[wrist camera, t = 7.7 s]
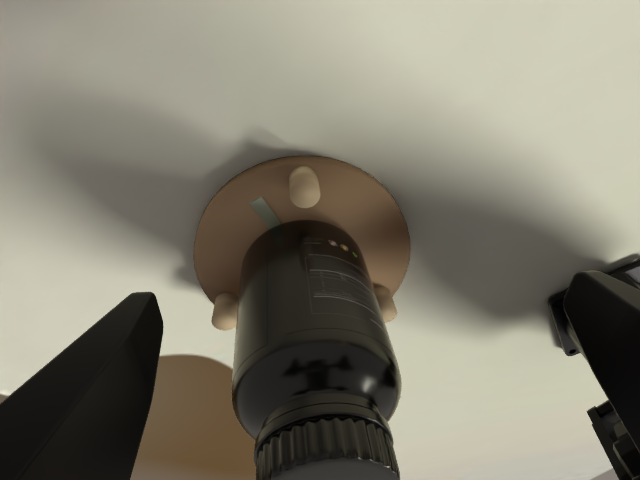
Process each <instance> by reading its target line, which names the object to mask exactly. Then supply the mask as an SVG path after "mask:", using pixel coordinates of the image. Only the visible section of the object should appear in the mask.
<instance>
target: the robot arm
mask: <svg viewBox="0 0 640 480" xmlns="http://www.w3.org/2000/svg"><path fill="white" fill-rule="evenodd" d="M548 305H549V308H550V312H551V315H552V318H553V321H554V324H555V327H556V330H557V334H558V337H559V340H560V343H561V346H562V349H563V351H564V352H565V354H566V355H567V356H573V355H576V354H578V353H581V354H582V355H583V356H584V358H585V359H586V360H587V362H588V363H589V365H590V367H591V369H592V371H593V373H594V375H595V377H596V378H597V380H598V382H599V384H600V386H601V387H602V389H603V391H604V392H605V394H606V396H607V398H608V399H609V400H607V401H606V402H604V403H603V404H601V405H599V406H598V407H595V406H594V407H593V408H591V409H589V410H588V411H587V413H588V415H589V417H590V419H591V421H592V423H593V424H592V426H593V428H594V430H595V432H596V434H597V436H598V438H599V440H600V442H601V444H602V446H603V448H604V450H605V452H606V454H607V456H608V458H609V460H610V462H611V464H612V466H613V468H614V470H615V472H616V474H617V476H618V478H619V480H640V260H639V261H637V262H635V263H632V264H630V265H627V266H625V267H622V268H620V269H618V270H615V271H613V272H610V273H608V274H605V273H603V272H600V271H596V270H592V271H580V272H577V273H576V274H575V275H574V277H573V279H572V281H571V284H570V286H569V288H568V290H567V291H565V292H562V293H560V294H557V295H555V296H553V297H551V298H550V299H549V301H548ZM162 335H163V320H162V316H161V313H160V310H159V306H158V303H157V299H156V296H155V295H154V293H152V292H136V293H132V294H130V295H129V296H128V297H126V298H125V299H124V300H123V301H122V302H120V303H119V304H118V305H117V306H116V307H114V308H113V309H112V310H111V311H110V312H108V313H107V314H106V315H105V316H104V317H103V318H101V319H100V320H99V321H98V322H97V323H95V324H94V325H93V326H92V327H91V328H89V329H88V330H87V331H86V332H85V333H83V334H82V335H81V336H80V337H79V338H78V339H76V340H75V341H74V342H73V343H72V344H70V345H69V346H68V347H67V348H66V349H64V350H63V351H62V352H61V353H60V354H59V355H57V356H56V357H55V358H54V359H53V360H51V361H50V362H49V363H48V364H47V365H45V366H44V367H43V368H42V369H41V370H39V371H38V372H37V373H36V374H35V375H34V376H32V377H31V378H30V379H29V380H28V381H26V382H25V383H24V384H23V385H22V386H20V387H19V388H18V389H17V390H16V391H14V392H13V393H12V394H11V395H10V396H9V397H7V398H6V399H5V400H4V401H3V402H1V403H0V480H130V477H131V474H132V470H133V467H134V463H135V459H136V456H137V453H138V449H139V446H140V442H141V438H142V435H143V431H144V428H145V424H146V421H147V417H148V414H149V410H150V406H151V402H152V397H153V392H154V386H155V378H156V373H157V367H158V361H159V354H160V348H161V342H162Z"/></svg>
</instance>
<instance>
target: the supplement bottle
mask: <svg viewBox="0 0 640 480" xmlns="http://www.w3.org/2000/svg"><path fill="white" fill-rule="evenodd" d="M400 394H401V375H400V371H399V367H398V364H397V360H396V357H395V354H394V351H393V348H392V344H391V341H390V338H389V335H388V332H387V329H386V326H385V322H384V319H383V316H382V313H381V310H380V307H379V304H378V300H377V297H376V294H375V291H374V288H373V285H372V282H371V278H370V275H369V272H368V269H367V266H366V263H365V260H364V257H363V254H362V252H361V250H360V248H359V246H358V245H357V243H356V242H355V241H354V239H353V238H352V237H351V236H350V235H349V234H347V233H346V232H345V231H343V230H342V229H340V228H338V227H336V226H334V225H332V224H329V223H326V222H322V221H317V220H295V221H290V222H285V223H282V224H279V225H277V226H275V227H273V228H271V229H269V230H267V231H266V232H264V233H263V234H262V235H260V236H259V237H258V238H257V239H256V240H255V241H254V242H253V243H252V244H251V246H250V247H249V249H248V250H247V252H246V254H245V256H244V259H243V262H242V266H241V274H240V284H239V297H238V310H237V323H236V336H235V350H234V363H233V376H232V405H233V410H234V412H235V415H236V418H237V420H238V421H239V423H240V425H241V426H242V428H243V429H244V430H245V431H246V433H247V434H248V435H249V436H250V437H251V438H252V439H254V440H255V445H254V462H255V466H256V480H400V472H399V468H398V464H397V460H396V456H395V452H394V448H393V438H392V434H391V430H390V427H389V424H388V421H389V420H390V419H391V417H392V416H393V414H394V412H395V410H396V408H397V405H398V402H399V399H400Z"/></svg>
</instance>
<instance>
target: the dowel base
mask: <svg viewBox="0 0 640 480" xmlns="http://www.w3.org/2000/svg"><path fill="white" fill-rule="evenodd" d="M295 220H317V221H322V222H326V223H329V224H332V225H334V226H336V227H338V228H340V229H342V230H343V231H345V232H346V233H347V234H349V235H350V236H351V237H352V238H353V239H354V241H355V242H356V243H357V245H358V246H359V248H360V250H361V252H362V254H363V257H364V260H365V263H366V266H367V269H368V272H369V275H370V278H371V282H372V285H373V288H374V291H375V294H376V297H377V300H378V304H379V307H380V310H381V313H382V316H383V319H384V322H385V323H386V322H389V321H391V320H393V319H394V318H395V316H396V314H397V311H396V308H395V305H394V301H393V298H392V296H393V295H394V294H395V292H396V291H397V289H398V288H399V286H400V284H401V283H402V281H403V278H404V276H405V274H406V271H407V268H408V264H409V259H410V237H409V233H408V228H407V225H406V223H405V220H404V218H403V216H402V213H401V211H400V209H399V207H398V205H397V203H396V202H395V200H394V199H393V197H392V195H391V194H390V193H389V192H388V191H387V190H386V188H385V187H384V186H383V185H382V184H381V183H379V182H378V181H377V180H376V179H375V178H374V177H372V176H371V175H369V174H367V173H366V172H364V171H363V170H361V169H359V168H357V167H355V166H352V165H350V164H348V163H345V162H342V161H338V160H335V159H331V158H325V157H319V156H292V157H284V158H279V159H274V160H270V161H267V162H264V163H261V164H258V165H256V166H254V167H252V168H249V169H247V170H245V171H243V172H242V173H240V174H239V175H237V176H236V177H234V178H233V179H231V180H230V181H229V182H228V183H227V184H225V185H224V186H223V187H222V188H221V189H220V190H219V191H218V192H217V193H216V195H215V196H214V197H213V198H212V199H211V201H210V203H209V204H208V206H207V208H206V209H205V211H204V213H203V216H202V218H201V221H200V223H199V227H198V230H197V234H196V238H195V242H194V254H193V257H194V266H195V271H196V274H197V278H198V280H199V282H200V285H201V287H202V289H203V291H204V292H205V294H206V295H207V297H208V298H209V299H210V301H211V302H212V303H213V304H214V310H213V316H212V324H213V326H214V327H216V328H217V329H219V330H231V329H233V328H234V327H235V326H236V323H237V310H238V297H239V284H240V274H241V266H242V262H243V259H244V256H245V254H246V252H247V250H248V249H249V247H250V246H251V244H252V243H253V242H254V241H255V240H256V239H257V238H258V237H259V236H260V235H262V234H263V233H264V232H266V231H267V230H269V229H271V228H273V227H275V226H277V225H279V224H282V223H285V222H290V221H295Z"/></svg>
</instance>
